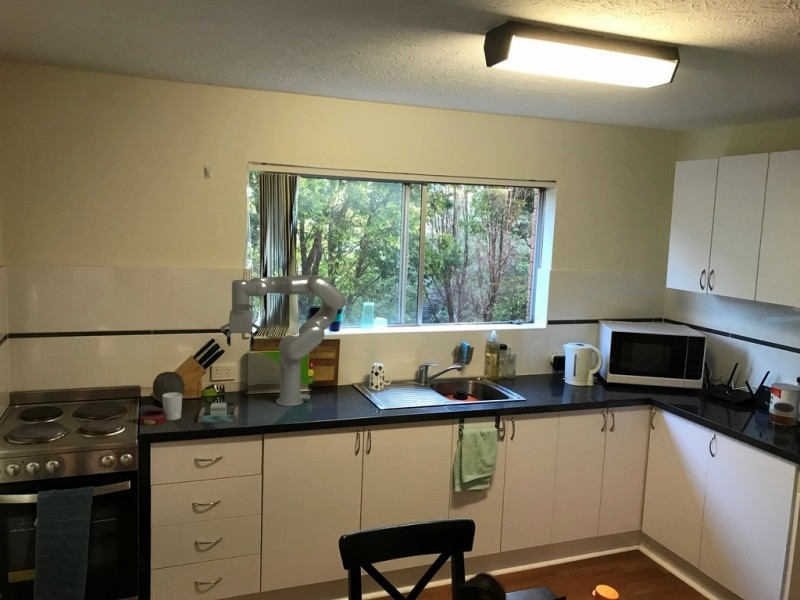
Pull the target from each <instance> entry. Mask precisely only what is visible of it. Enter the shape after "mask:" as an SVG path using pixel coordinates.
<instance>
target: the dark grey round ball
mask: <svg viewBox="0 0 800 600" xmlns="http://www.w3.org/2000/svg"><path fill="white" fill-rule="evenodd" d="M185 388H186V387H185V382H184V380H183V378H182V376H181V375H180V373H178V372H175V371H163V372H161V373H159V374H157V376H155V378H154V380H153V383H152V392H153V395H154V397H155V398H156V400H157V401H158V402H159V403H161V404H162V405H163V398H162V395H163V394H166V393H173V392H176V393H181V394H182V397H183V396H184V394H185Z"/></svg>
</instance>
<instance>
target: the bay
mask: <svg viewBox="0 0 800 600" xmlns="http://www.w3.org/2000/svg"><path fill="white" fill-rule="evenodd" d="M205 413H206V407H201V409H200V410H199V413H198V416H197V423H227V422H228V423H230V422H231V423H232V422H233V423H234V422H237V421H238V416H239V406H235V408H234V411H233V414H226V415H205Z"/></svg>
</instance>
